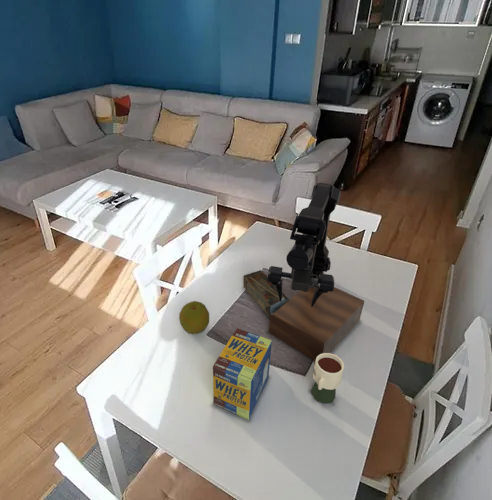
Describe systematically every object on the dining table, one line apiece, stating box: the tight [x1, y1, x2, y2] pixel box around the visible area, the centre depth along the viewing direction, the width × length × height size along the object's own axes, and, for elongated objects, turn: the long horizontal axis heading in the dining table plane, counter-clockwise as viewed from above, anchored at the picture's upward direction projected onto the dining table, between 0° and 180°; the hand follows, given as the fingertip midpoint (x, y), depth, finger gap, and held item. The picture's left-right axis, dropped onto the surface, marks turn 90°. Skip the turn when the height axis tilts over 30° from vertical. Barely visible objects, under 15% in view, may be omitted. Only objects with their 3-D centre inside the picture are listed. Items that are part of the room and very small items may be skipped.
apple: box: [178, 300, 210, 335], centre depth 125 cm, size 10×10×11 cm
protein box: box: [212, 327, 273, 420], centre depth 102 cm, size 10×15×16 cm
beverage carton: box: [242, 269, 290, 318], centre depth 137 cm, size 8×19×7 cm, turn 24°
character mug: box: [310, 352, 345, 404], centre depth 101 cm, size 11×7×13 cm, turn 144°
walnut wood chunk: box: [268, 286, 365, 362], centre depth 124 cm, size 25×19×9 cm
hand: (296, 303), depth 115 cm, fingers open, 9 cm apart
